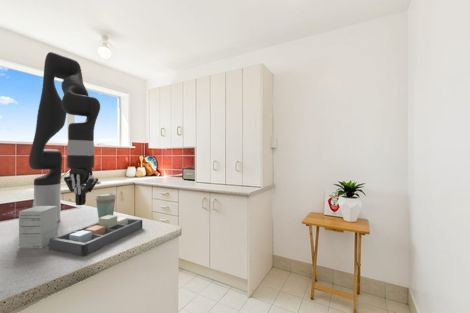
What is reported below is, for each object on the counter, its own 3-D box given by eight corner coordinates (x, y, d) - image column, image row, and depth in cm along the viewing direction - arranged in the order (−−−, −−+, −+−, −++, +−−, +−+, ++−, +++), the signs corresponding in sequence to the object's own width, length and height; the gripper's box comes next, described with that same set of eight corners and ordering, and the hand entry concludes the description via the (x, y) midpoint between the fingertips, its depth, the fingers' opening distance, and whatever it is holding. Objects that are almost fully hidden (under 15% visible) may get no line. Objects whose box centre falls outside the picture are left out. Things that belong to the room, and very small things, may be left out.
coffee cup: (106, 222, 97) (106, 196, 97) (90, 221, 99) (90, 195, 99) (120, 217, 106) (120, 193, 105) (105, 216, 107) (105, 192, 107)
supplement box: (36, 240, 77) (36, 205, 77) (58, 239, 78) (58, 205, 78) (17, 249, 70) (17, 211, 70) (41, 248, 70) (41, 211, 70)
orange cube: (84, 239, 76) (85, 229, 76) (96, 234, 80) (96, 225, 80) (94, 240, 75) (94, 230, 75) (105, 236, 79) (105, 226, 79)
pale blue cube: (69, 245, 71) (69, 234, 71) (81, 240, 75) (82, 230, 75) (79, 247, 70) (79, 236, 70) (91, 241, 74) (91, 231, 74)
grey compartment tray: (49, 249, 70) (49, 238, 70) (114, 224, 95) (114, 216, 95) (84, 256, 66) (84, 244, 66) (142, 228, 91) (142, 220, 91)
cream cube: (110, 228, 87) (110, 220, 87) (119, 225, 91) (119, 216, 91) (119, 229, 85) (119, 221, 85) (127, 226, 90) (127, 217, 90)
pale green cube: (98, 227, 81) (98, 218, 81) (108, 223, 86) (108, 214, 86) (107, 228, 80) (107, 219, 80) (117, 224, 84) (117, 215, 84)
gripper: (54, 153, 70) (54, 205, 70) (85, 154, 66) (84, 209, 67) (77, 153, 77) (76, 200, 78) (106, 154, 74) (105, 204, 74)
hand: (80, 204), depth 72 cm, fingers closed
